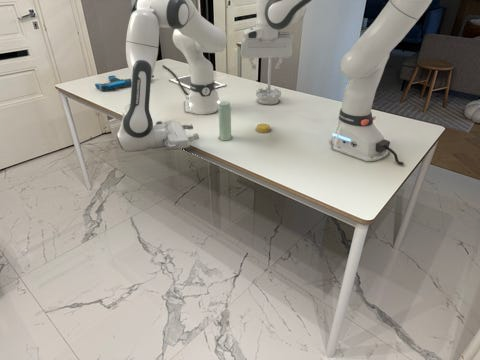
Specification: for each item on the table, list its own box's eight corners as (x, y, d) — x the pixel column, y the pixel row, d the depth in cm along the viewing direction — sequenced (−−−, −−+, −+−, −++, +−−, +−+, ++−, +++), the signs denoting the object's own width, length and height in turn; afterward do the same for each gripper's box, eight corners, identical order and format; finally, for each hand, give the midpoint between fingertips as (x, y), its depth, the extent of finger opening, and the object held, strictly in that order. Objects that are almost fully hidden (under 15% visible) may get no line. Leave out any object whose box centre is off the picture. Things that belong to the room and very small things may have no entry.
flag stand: (273, 95, 188) (277, 37, 172) (284, 103, 178) (289, 42, 162) (252, 98, 184) (253, 39, 168) (262, 106, 174) (264, 45, 158)
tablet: (169, 80, 212) (169, 79, 212) (195, 74, 223) (195, 73, 223) (198, 92, 192) (198, 92, 192) (226, 85, 203) (226, 84, 203)
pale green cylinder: (233, 137, 145) (233, 102, 136) (226, 141, 141) (225, 105, 133) (224, 134, 147) (223, 99, 139) (217, 138, 144) (215, 103, 135)
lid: (254, 127, 153) (255, 124, 152) (267, 126, 154) (267, 122, 153) (259, 133, 148) (259, 129, 147) (271, 131, 149) (271, 127, 148)
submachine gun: (139, 68, 224) (158, 74, 208) (140, 74, 226) (159, 81, 209) (87, 78, 206) (103, 86, 189) (89, 85, 208) (104, 93, 191)
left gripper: (164, 140, 124) (201, 134, 128) (156, 119, 140) (189, 115, 144) (166, 155, 127) (202, 149, 131) (158, 133, 143) (190, 128, 147)
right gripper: (292, 30, 132) (289, 66, 140) (239, 30, 131) (239, 67, 138) (295, 32, 127) (292, 70, 134) (241, 33, 125) (241, 71, 133)
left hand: (195, 131), depth 138 cm, fingers open, 8 cm apart
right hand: (265, 68), depth 136 cm, fingers open, 8 cm apart
